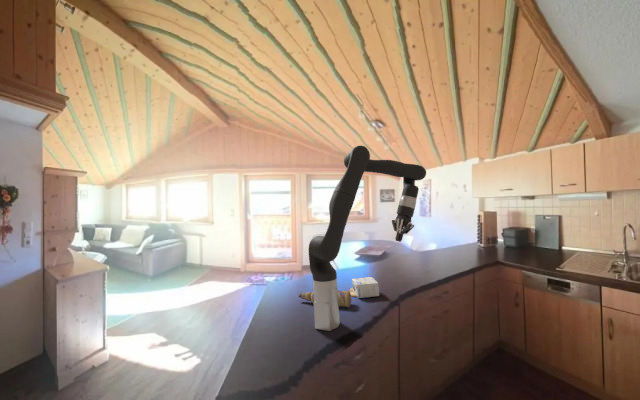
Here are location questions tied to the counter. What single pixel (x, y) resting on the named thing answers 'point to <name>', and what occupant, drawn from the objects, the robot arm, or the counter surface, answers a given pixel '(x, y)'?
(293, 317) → the counter surface
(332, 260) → the robot arm
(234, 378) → the counter surface
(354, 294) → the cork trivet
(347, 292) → the decorative bottle
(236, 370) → the counter surface
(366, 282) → the light bulb box
